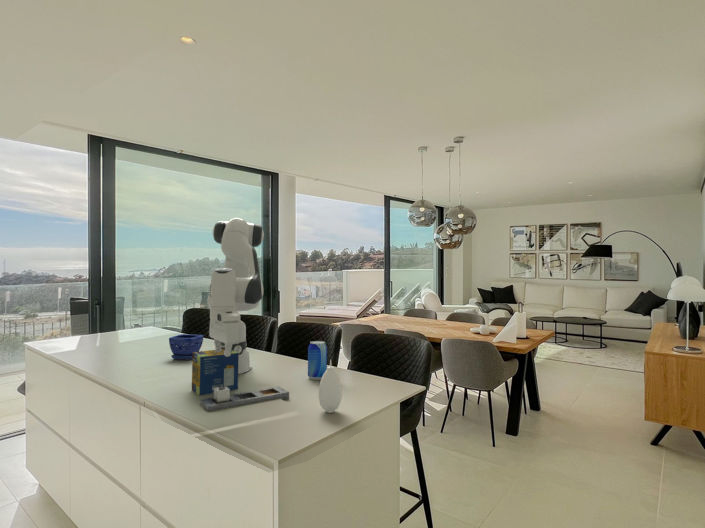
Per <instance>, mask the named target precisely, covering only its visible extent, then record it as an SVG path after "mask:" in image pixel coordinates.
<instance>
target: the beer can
mask: <svg viewBox="0 0 705 528" xmlns="http://www.w3.org/2000/svg"><path fill="white" fill-rule="evenodd" d="M309 342H310V343H309V345H308V347H307V377H308V378H309V379H310V380H312V381H321V379H322V377H323V374H324V373H325V371H326V370H327V367H328V365H327V364H328V363H327V362H328V346H327V345H326V342H325V341H322V340H314V341H309Z"/></svg>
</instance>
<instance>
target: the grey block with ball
mask: <svg viewBox="0 0 705 528" xmlns="http://www.w3.org/2000/svg"><path fill="white" fill-rule="evenodd" d="M230 395H231V390H230V389H229V388H227V387H226V386H225V387H218V388H214V393H213V398H214V403H215V404H219V403H225V402H230Z"/></svg>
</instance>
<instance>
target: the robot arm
mask: <svg viewBox="0 0 705 528" xmlns="http://www.w3.org/2000/svg"><path fill="white" fill-rule="evenodd" d="M263 229H264V228H263V226H262V225H260V224H258V223H251V222H247V221H246V220H245V219H242V218H240V217H239V218H238V217H233V218H231V219H230V220H219V221H217V222H215V224H214V226H213V228H212V236H213V240H214V241H215V243H217V244H220V247H221V252H222V253H223V255H224V256H225V258H224V259H225V262H224V267H218V268H215V269H214V270H213V271H212V274H211V278H210V284H209V294H208V297H207V300H206V303H207V306H208V309H209V319H210V320H209V332H208V334H209V338H211V339H213V344H214V350H215V351H216V352H221V349H225V351H224V356H226V357H227V356H230V355H231V349H232V350H234V351H235V352H237V353H239V361H238V375H239V374H240V375H241V374H245V373H246V372H248V371H251V370H252V369H253V366H252V365H251V364H250V362H251V361H250V351H248V350H247V344H248V343H247V339H246V337H247V334H246V332H247V331H246V330H247V327H246V326H247V325H246V323H245V322H244V321H242V320H241V314H240V313H239V312H246V311H250V310H255V309H256V308H257V307H258V306H259V304H260V301H261V300H262V299H263V296H264V286H263V281H262V278H261V272H260V264H259V258H258V253H257V250H256V248H257V247H259V246H260V245H261V244H262V243H263V241H264V237H265V232H264V230H263Z"/></svg>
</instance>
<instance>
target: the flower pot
mask: <svg viewBox="0 0 705 528" xmlns="http://www.w3.org/2000/svg"><path fill="white" fill-rule="evenodd" d="M168 342H169V348H170V351H171V352H172V355H171V354H170V356H171V358H172V359H173V360H182V359H186V361H190V360H192V352H200V350H201V348H202V345H203V342H204V335H203V334H190V333H187V334H186V333H183V334H177V335H174V336H171V337H169V338H168Z"/></svg>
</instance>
